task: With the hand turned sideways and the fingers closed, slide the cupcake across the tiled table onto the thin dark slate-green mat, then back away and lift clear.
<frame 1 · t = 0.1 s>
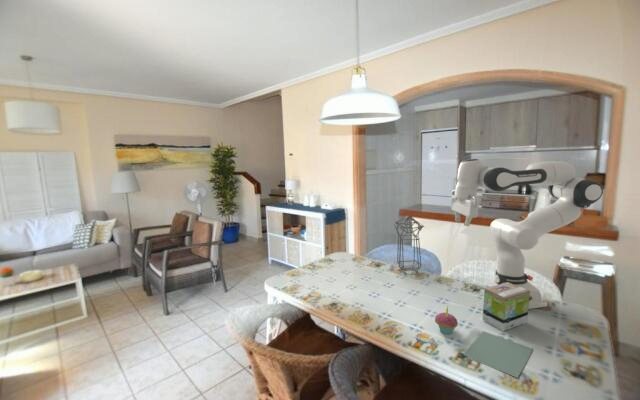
hand: (462, 223, 139), 39 cm above the table, tool pointing down, fingers open, 8 cm apart
mat: (493, 349, 109), on the table
cupcake: (445, 331, 121), on the table
tea box: (504, 322, 126), on the table
geometric lantern: (408, 271, 185), on the table
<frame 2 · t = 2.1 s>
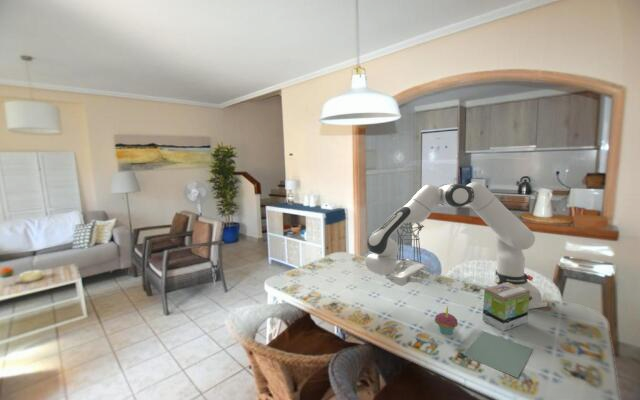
hand: (425, 278, 125), 20 cm above the table, tool horizontal, fingers open, 5 cm apart
nothing on the table moved.
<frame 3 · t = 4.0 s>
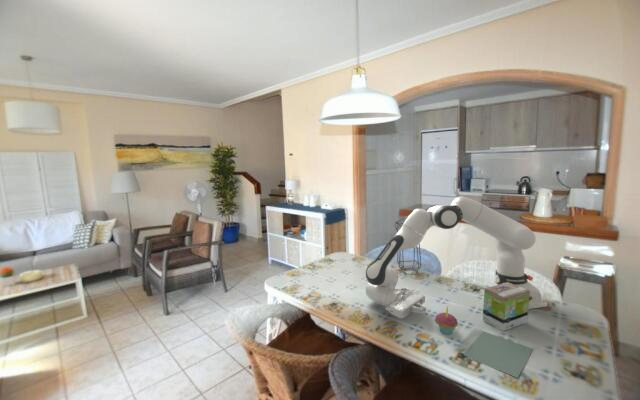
hand: (424, 310, 127), 6 cm above the table, tool horizontal, fingers closed
nothing on the table moved.
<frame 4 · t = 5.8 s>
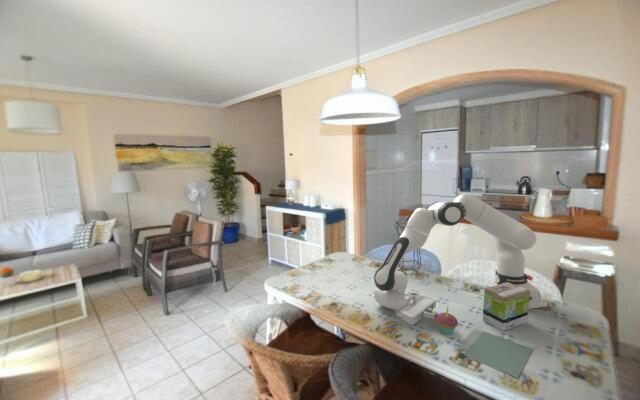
hand: (436, 316, 124), 5 cm above the table, tool horizontal, fingers closed
cupcake: (446, 331, 121), on the table, touching gripper
everything else where it was.
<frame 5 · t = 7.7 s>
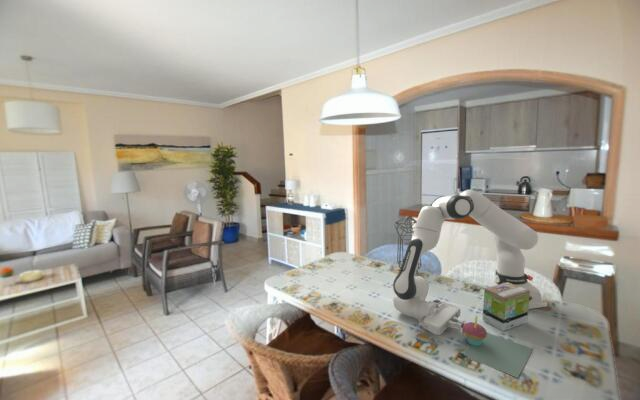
hand: (462, 325, 116), 5 cm above the table, tool horizontal, fingers closed
cupcake: (473, 342, 114), on the table, touching gripper
everything else where it was.
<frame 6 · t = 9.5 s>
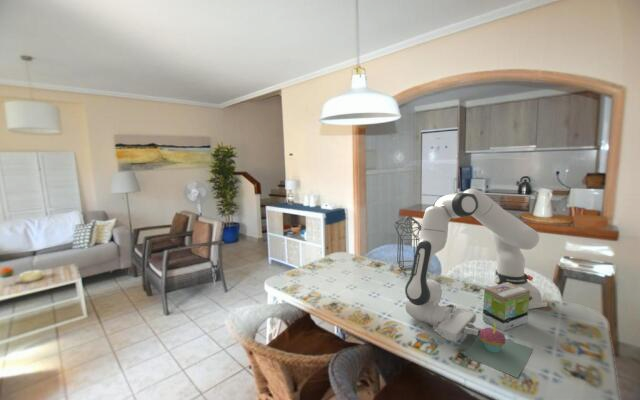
hand: (479, 332, 111), 5 cm above the table, tool horizontal, fingers closed
cupcake: (491, 349, 109), resting on mat, touching gripper
everything else where it was.
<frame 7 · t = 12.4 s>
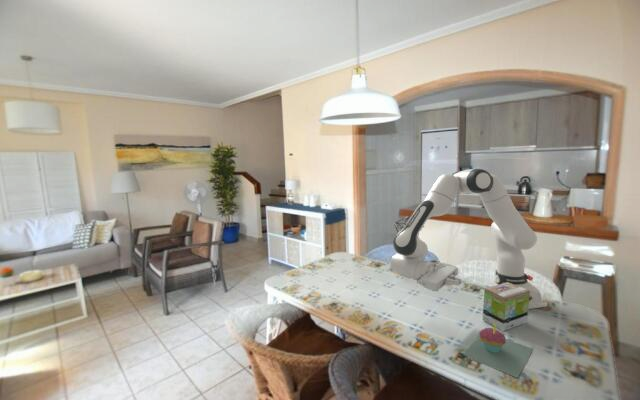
hand: (460, 282, 115), 22 cm above the table, tool horizontal, fingers closed
cupcake: (491, 349, 109), resting on mat
everything else where it was.
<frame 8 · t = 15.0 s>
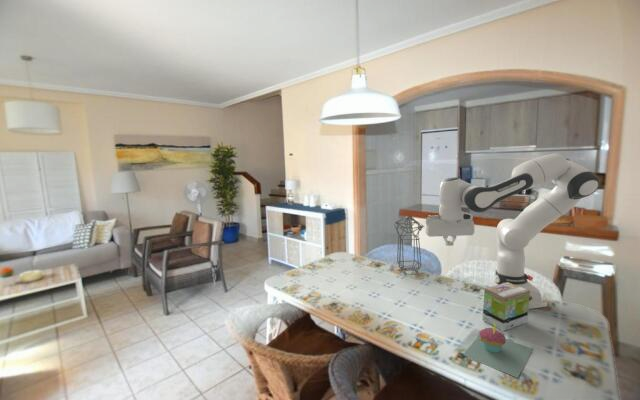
hand: (449, 245, 132), 31 cm above the table, tool pointing down, fingers closed
nothing on the table moved.
at the end: cupcake 0.7 cm from the mat (horizontally); cupcake tilted 1°; the gripper is holding nothing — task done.
